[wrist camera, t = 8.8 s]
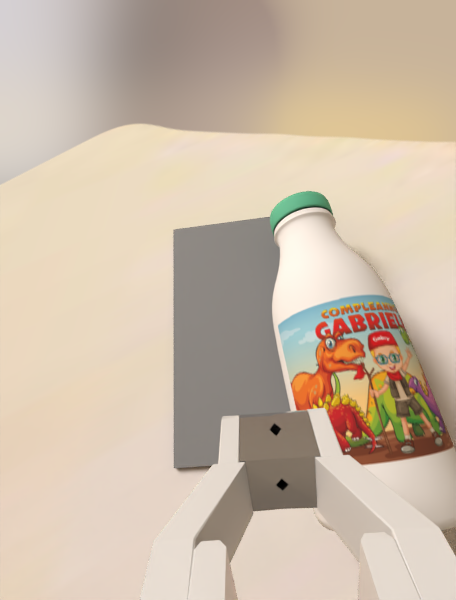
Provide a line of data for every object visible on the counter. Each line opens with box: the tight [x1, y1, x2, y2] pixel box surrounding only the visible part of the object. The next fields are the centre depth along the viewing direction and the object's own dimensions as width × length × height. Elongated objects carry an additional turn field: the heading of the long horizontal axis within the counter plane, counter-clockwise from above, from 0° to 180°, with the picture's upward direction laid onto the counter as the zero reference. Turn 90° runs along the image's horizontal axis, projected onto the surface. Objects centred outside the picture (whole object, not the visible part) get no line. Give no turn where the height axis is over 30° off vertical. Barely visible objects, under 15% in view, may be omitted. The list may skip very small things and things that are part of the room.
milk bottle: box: [270, 191, 456, 531], centre depth 20 cm, size 8×8×20 cm
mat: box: [174, 217, 291, 468], centre depth 25 cm, size 20×14×1 cm
